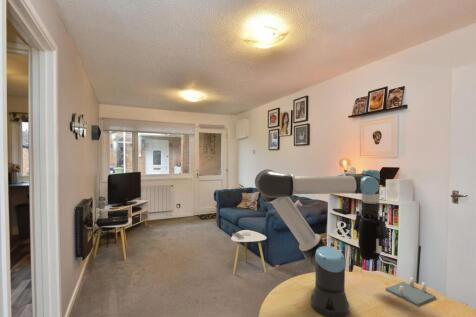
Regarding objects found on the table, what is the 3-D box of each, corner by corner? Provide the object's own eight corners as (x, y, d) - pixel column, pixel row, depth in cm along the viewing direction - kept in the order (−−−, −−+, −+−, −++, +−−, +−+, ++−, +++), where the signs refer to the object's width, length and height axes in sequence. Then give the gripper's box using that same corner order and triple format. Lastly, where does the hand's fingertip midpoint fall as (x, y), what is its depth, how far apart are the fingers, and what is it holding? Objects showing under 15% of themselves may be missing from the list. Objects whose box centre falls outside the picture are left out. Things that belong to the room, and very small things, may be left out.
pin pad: (417, 306, 106) (417, 294, 106) (385, 290, 118) (385, 279, 118) (435, 298, 112) (435, 287, 112) (403, 283, 124) (403, 273, 124)
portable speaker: (382, 263, 113) (382, 220, 113) (359, 260, 117) (359, 218, 117) (378, 256, 121) (379, 216, 121) (357, 253, 125) (358, 214, 125)
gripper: (398, 205, 111) (397, 255, 111) (356, 197, 130) (355, 240, 130) (387, 206, 107) (386, 258, 108) (346, 198, 127) (345, 242, 127)
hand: (369, 248), depth 119 cm, fingers closed on portable speaker, 9 cm apart
